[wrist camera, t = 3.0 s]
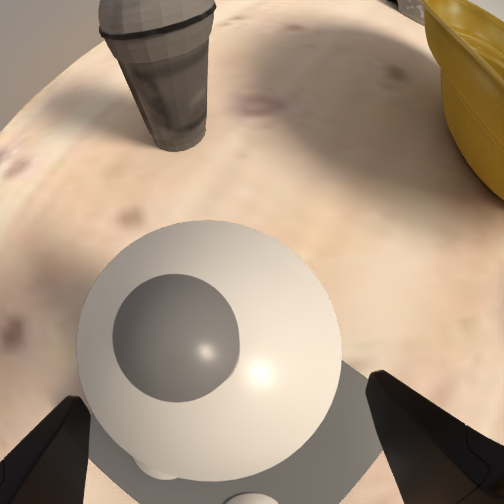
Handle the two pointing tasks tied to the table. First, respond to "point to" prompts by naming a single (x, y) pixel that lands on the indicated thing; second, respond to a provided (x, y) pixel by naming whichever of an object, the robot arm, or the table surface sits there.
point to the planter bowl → (471, 82)
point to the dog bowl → (412, 10)
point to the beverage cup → (163, 63)
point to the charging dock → (275, 478)
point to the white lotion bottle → (208, 350)
